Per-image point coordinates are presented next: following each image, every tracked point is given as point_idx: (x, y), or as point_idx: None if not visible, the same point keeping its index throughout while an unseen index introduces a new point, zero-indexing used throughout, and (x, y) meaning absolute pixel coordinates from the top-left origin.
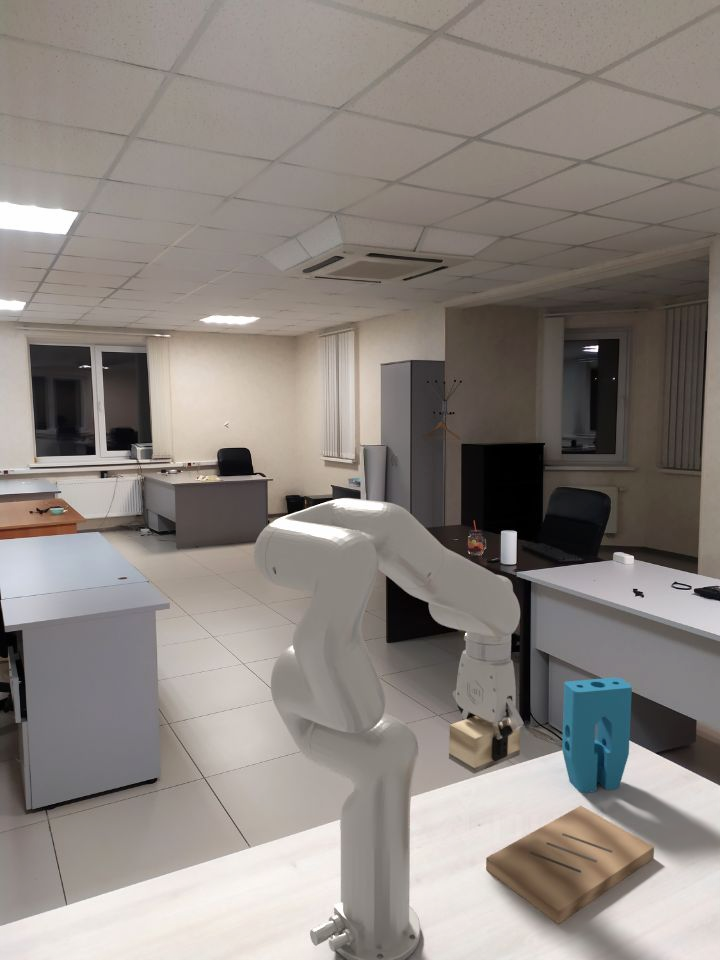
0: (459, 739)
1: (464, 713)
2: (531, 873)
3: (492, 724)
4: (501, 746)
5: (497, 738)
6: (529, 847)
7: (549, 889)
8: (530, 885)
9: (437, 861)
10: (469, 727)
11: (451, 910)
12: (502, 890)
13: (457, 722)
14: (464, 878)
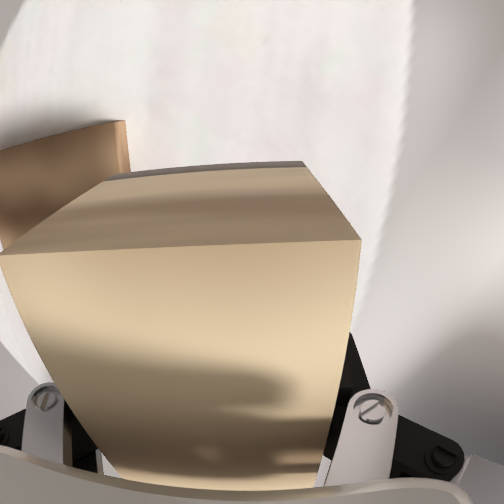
0: (199, 207)
1: (373, 440)
2: (46, 175)
3: (167, 461)
4: None
5: (53, 385)
6: None
7: (12, 176)
8: (27, 152)
9: (201, 44)
10: (189, 358)
11: (85, 6)
12: (71, 114)
13: (341, 336)
14: (128, 65)
